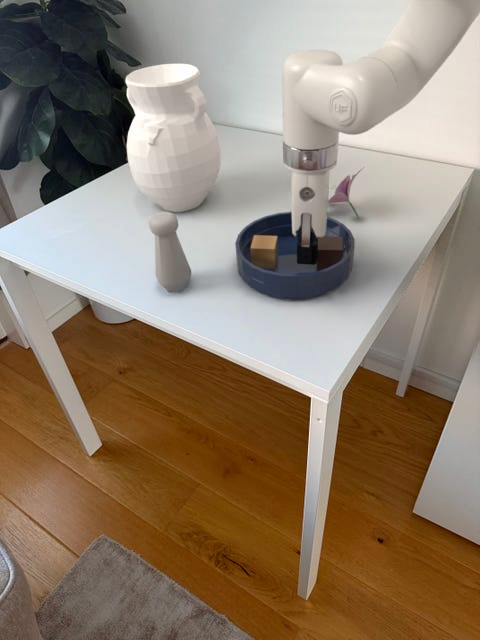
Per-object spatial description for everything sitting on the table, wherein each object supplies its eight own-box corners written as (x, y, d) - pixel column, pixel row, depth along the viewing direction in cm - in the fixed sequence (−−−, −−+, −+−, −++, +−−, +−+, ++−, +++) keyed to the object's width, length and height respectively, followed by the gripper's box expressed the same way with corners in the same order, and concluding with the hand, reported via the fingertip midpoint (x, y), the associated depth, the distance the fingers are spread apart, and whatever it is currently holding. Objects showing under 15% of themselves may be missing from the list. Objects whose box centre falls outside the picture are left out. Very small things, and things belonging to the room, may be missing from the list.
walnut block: (340, 256, 82) (342, 236, 79) (341, 270, 79) (343, 250, 76) (316, 256, 82) (317, 236, 80) (316, 270, 79) (317, 249, 77)
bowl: (352, 237, 87) (354, 213, 84) (351, 305, 73) (354, 279, 70) (248, 234, 90) (246, 210, 87) (228, 298, 76) (225, 272, 73)
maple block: (277, 255, 83) (277, 235, 81) (275, 269, 80) (274, 249, 78) (255, 254, 84) (254, 234, 81) (251, 268, 81) (250, 248, 78)
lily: (361, 201, 99) (341, 159, 95) (395, 203, 88) (375, 156, 84) (315, 234, 97) (293, 193, 94) (344, 240, 87) (321, 194, 83)
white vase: (242, 190, 104) (232, 63, 87) (189, 231, 93) (167, 94, 76) (175, 174, 112) (155, 56, 96) (120, 210, 101) (86, 82, 84)
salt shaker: (172, 271, 83) (159, 203, 74) (199, 280, 81) (189, 210, 72) (151, 290, 79) (134, 220, 71) (179, 299, 77) (165, 229, 68)
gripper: (336, 177, 61) (328, 291, 73) (338, 132, 71) (331, 237, 84) (276, 176, 62) (278, 288, 74) (288, 132, 73) (288, 236, 85)
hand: (306, 261), depth 79 cm, fingers closed
